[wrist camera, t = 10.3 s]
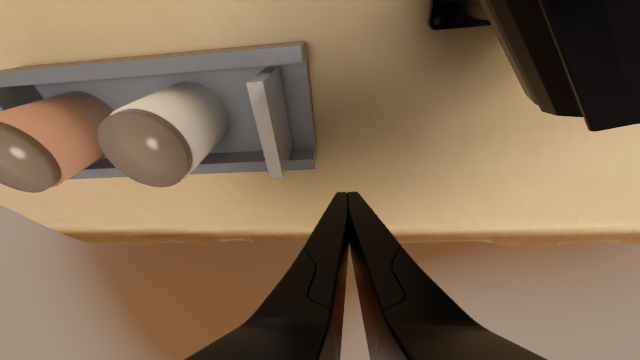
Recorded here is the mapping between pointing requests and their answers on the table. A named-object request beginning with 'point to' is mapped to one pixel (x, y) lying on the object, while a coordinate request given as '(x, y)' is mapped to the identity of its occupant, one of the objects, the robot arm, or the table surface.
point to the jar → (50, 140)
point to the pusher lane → (167, 69)
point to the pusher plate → (271, 119)
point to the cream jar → (164, 133)
